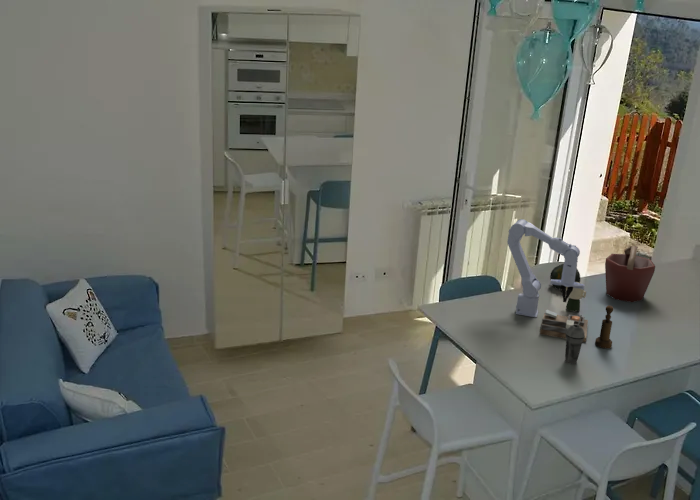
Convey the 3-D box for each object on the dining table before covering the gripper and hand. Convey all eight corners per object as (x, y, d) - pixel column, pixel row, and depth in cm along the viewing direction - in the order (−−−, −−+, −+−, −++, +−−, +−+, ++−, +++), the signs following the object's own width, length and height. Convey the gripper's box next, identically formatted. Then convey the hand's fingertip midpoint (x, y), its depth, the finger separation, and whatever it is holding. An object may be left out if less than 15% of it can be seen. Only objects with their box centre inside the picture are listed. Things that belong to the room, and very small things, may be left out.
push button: (571, 321, 306) (571, 318, 306) (571, 318, 310) (572, 315, 309) (580, 323, 305) (581, 320, 304) (580, 320, 308) (581, 316, 308)
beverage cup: (558, 357, 278) (565, 311, 272) (576, 357, 279) (583, 311, 272) (565, 365, 271) (572, 319, 265) (583, 365, 272) (591, 319, 265)
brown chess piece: (611, 343, 292) (618, 304, 286) (611, 350, 286) (618, 310, 280) (594, 340, 294) (601, 301, 288) (594, 347, 288) (601, 307, 282)
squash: (540, 275, 352) (560, 260, 342) (555, 270, 362) (576, 255, 352) (555, 299, 347) (577, 284, 337) (570, 293, 357) (592, 278, 347)
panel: (539, 333, 298) (541, 325, 297) (543, 316, 316) (545, 308, 315) (585, 342, 292) (587, 333, 291) (587, 324, 310) (588, 315, 309)
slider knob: (565, 331, 296) (566, 324, 295) (565, 327, 300) (566, 319, 299) (572, 332, 295) (573, 325, 294) (573, 328, 299) (574, 320, 298)
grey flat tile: (544, 314, 310) (545, 312, 310) (545, 311, 313) (546, 309, 313) (555, 318, 309) (556, 316, 308) (556, 315, 312) (557, 313, 312)
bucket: (610, 283, 361) (618, 238, 353) (654, 294, 348) (663, 247, 341) (595, 297, 342) (603, 249, 334) (642, 309, 330) (651, 259, 322)
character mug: (587, 312, 323) (591, 286, 319) (578, 315, 319) (582, 289, 314) (567, 304, 331) (571, 279, 327) (558, 307, 327) (562, 282, 322)
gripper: (551, 273, 304) (547, 301, 308) (585, 278, 299) (581, 307, 304) (552, 268, 310) (548, 296, 314) (586, 273, 306) (581, 301, 310)
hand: (564, 301), depth 309 cm, fingers closed
